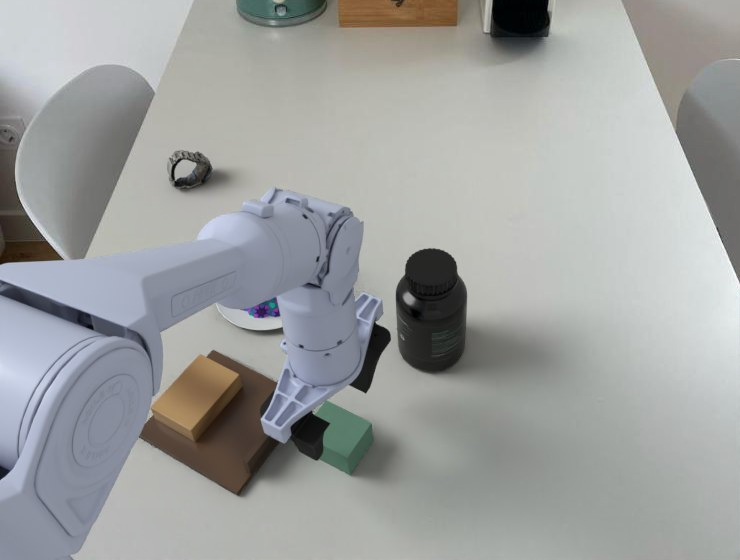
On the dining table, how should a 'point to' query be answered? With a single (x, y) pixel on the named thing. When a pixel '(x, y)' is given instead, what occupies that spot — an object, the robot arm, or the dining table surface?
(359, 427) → the green block
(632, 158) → the dining table surface
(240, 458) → the dock
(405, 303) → the supplement bottle
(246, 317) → the pudding
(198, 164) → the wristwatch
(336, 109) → the dining table surface
